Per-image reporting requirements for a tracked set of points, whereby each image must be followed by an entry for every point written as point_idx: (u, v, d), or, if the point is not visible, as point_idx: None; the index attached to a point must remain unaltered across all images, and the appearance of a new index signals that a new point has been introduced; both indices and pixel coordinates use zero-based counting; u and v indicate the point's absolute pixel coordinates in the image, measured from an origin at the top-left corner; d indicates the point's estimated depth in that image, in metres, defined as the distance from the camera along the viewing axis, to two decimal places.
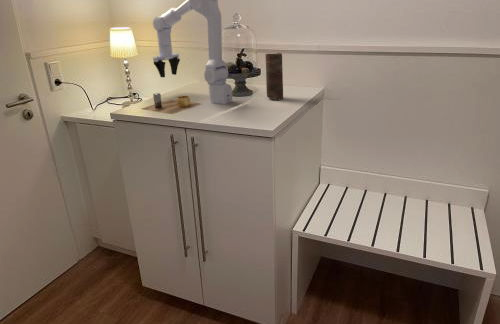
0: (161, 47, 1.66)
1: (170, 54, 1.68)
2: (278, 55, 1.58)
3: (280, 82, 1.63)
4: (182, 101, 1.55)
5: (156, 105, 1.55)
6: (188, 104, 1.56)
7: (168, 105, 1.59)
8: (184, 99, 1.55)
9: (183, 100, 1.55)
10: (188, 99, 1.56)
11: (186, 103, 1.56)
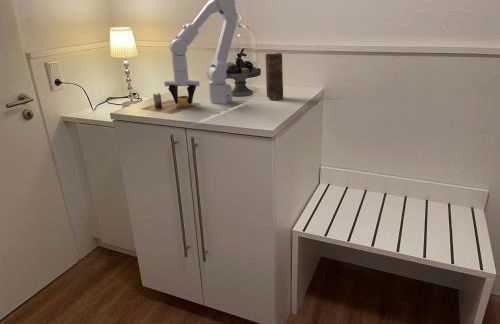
0: None
1: (179, 81, 1.52)
2: (278, 55, 1.58)
3: (280, 82, 1.63)
4: (182, 101, 1.55)
5: (156, 105, 1.55)
6: (188, 104, 1.56)
7: (168, 105, 1.59)
8: (184, 99, 1.55)
9: (183, 100, 1.55)
10: (188, 99, 1.56)
11: (186, 103, 1.56)
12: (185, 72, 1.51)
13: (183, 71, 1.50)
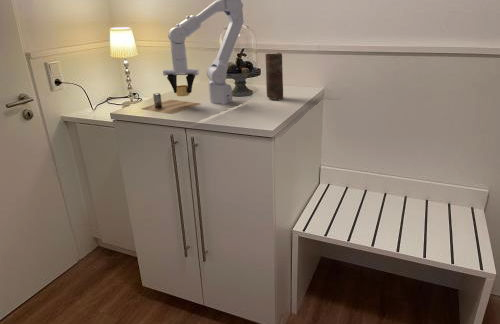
0: None
1: (177, 70, 1.50)
2: (278, 55, 1.58)
3: (280, 82, 1.63)
4: (181, 90, 1.53)
5: (156, 105, 1.55)
6: (187, 93, 1.55)
7: (168, 105, 1.59)
8: (183, 88, 1.53)
9: (182, 89, 1.53)
10: (187, 88, 1.54)
11: (185, 92, 1.54)
12: (184, 61, 1.49)
13: (182, 59, 1.49)
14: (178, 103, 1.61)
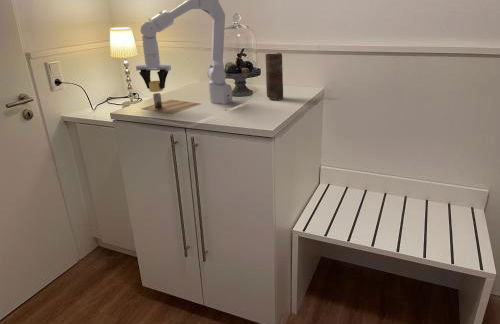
0: None
1: (149, 65, 1.48)
2: (278, 55, 1.58)
3: (280, 82, 1.63)
4: (152, 86, 1.51)
5: (156, 105, 1.55)
6: (159, 89, 1.52)
7: (168, 105, 1.59)
8: (155, 84, 1.50)
9: (153, 85, 1.51)
10: (159, 84, 1.52)
11: (157, 88, 1.51)
12: (155, 56, 1.47)
13: (153, 54, 1.46)
14: (178, 103, 1.61)
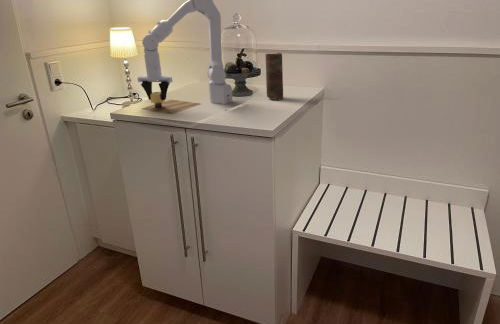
0: None
1: (150, 77, 1.49)
2: (278, 55, 1.58)
3: (280, 82, 1.63)
4: (154, 97, 1.53)
5: (156, 105, 1.55)
6: (161, 100, 1.54)
7: (168, 105, 1.59)
8: (156, 95, 1.52)
9: (155, 96, 1.52)
10: (161, 95, 1.53)
11: (159, 99, 1.53)
12: (157, 68, 1.49)
13: (155, 67, 1.48)
14: (178, 103, 1.61)
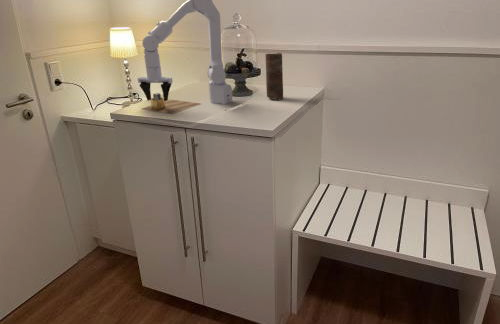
0: None
1: (150, 78, 1.49)
2: (278, 55, 1.58)
3: (280, 82, 1.63)
4: (155, 103, 1.53)
5: None
6: (162, 106, 1.55)
7: (168, 105, 1.59)
8: (157, 101, 1.53)
9: (156, 102, 1.53)
10: (161, 101, 1.54)
11: (159, 105, 1.54)
12: (157, 69, 1.49)
13: (155, 67, 1.48)
14: (178, 103, 1.61)
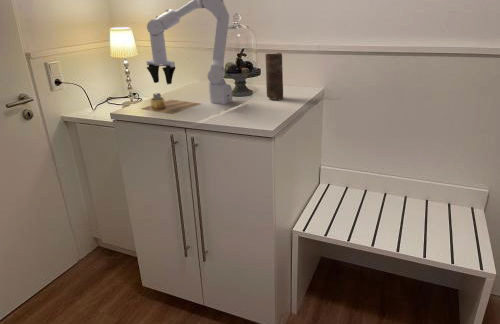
0: None
1: (154, 60, 1.55)
2: (278, 55, 1.58)
3: (280, 82, 1.63)
4: (155, 103, 1.53)
5: None
6: (162, 106, 1.55)
7: (168, 105, 1.59)
8: (157, 101, 1.53)
9: (156, 102, 1.53)
10: (161, 101, 1.54)
11: (159, 105, 1.54)
12: (160, 52, 1.54)
13: (158, 51, 1.53)
14: (178, 103, 1.61)
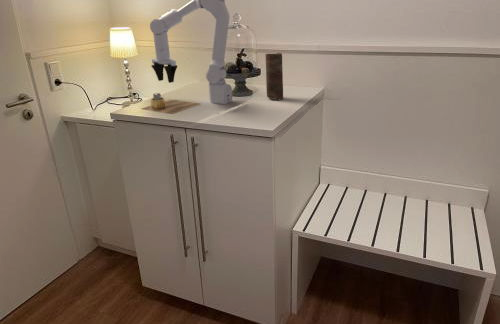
0: None
1: (157, 59, 1.59)
2: (278, 55, 1.58)
3: (280, 82, 1.63)
4: (155, 103, 1.53)
5: None
6: (162, 106, 1.55)
7: (168, 105, 1.59)
8: (157, 101, 1.53)
9: (156, 102, 1.53)
10: (161, 101, 1.54)
11: (159, 105, 1.54)
12: (163, 51, 1.57)
13: (160, 50, 1.57)
14: (178, 103, 1.61)
